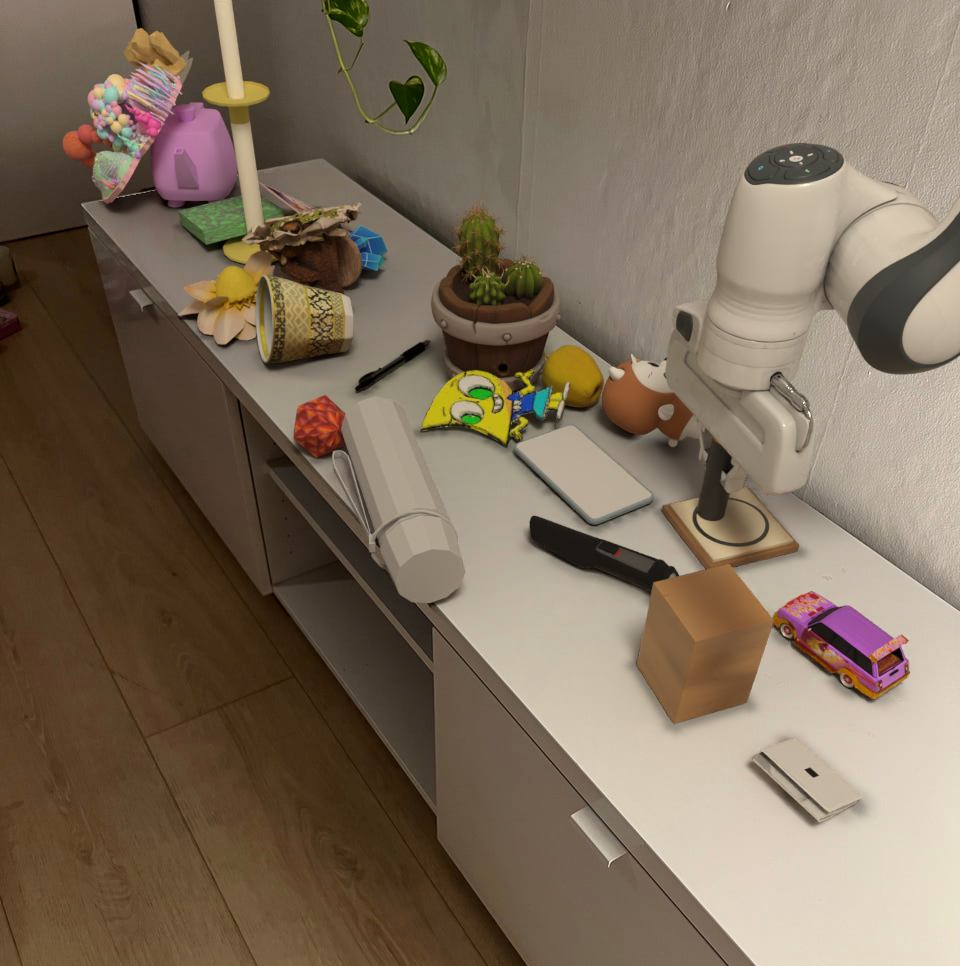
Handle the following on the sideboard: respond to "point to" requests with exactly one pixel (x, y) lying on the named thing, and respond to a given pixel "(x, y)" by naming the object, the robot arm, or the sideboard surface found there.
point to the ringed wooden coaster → (731, 531)
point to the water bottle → (400, 501)
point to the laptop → (806, 778)
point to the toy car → (845, 643)
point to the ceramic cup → (300, 320)
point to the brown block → (703, 642)
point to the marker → (714, 484)
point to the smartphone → (583, 474)
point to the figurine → (646, 401)
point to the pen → (391, 365)
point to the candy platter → (129, 112)
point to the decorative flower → (230, 300)
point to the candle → (239, 128)
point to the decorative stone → (319, 426)
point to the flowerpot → (493, 306)
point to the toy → (491, 405)
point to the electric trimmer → (600, 554)
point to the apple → (573, 375)
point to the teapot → (193, 156)
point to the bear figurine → (306, 244)
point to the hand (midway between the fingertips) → (719, 475)
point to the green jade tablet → (223, 218)
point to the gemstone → (358, 254)
